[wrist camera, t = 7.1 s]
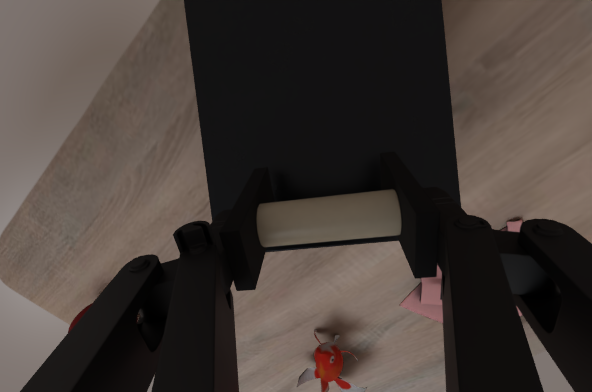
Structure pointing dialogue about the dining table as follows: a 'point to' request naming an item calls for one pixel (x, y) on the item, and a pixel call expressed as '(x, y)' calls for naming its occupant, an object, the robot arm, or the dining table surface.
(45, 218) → the dining table surface
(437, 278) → the cloth
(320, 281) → the dining table surface
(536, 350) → the dining table surface
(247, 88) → the lid
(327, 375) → the fish
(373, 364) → the dining table surface
